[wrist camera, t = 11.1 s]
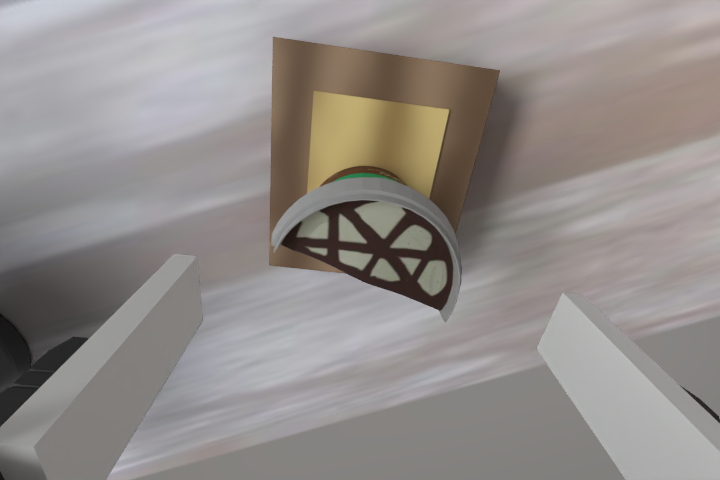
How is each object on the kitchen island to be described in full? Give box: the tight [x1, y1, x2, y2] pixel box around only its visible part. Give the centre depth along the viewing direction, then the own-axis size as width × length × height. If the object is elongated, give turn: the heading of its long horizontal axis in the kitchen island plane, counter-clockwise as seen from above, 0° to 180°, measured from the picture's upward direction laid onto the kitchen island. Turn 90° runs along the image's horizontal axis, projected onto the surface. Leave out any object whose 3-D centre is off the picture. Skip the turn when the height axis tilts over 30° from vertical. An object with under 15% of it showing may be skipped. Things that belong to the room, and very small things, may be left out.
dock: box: [269, 37, 500, 273], centre depth 29 cm, size 16×18×4 cm
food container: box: [271, 166, 462, 322], centre depth 23 cm, size 12×6×10 cm, turn 64°
